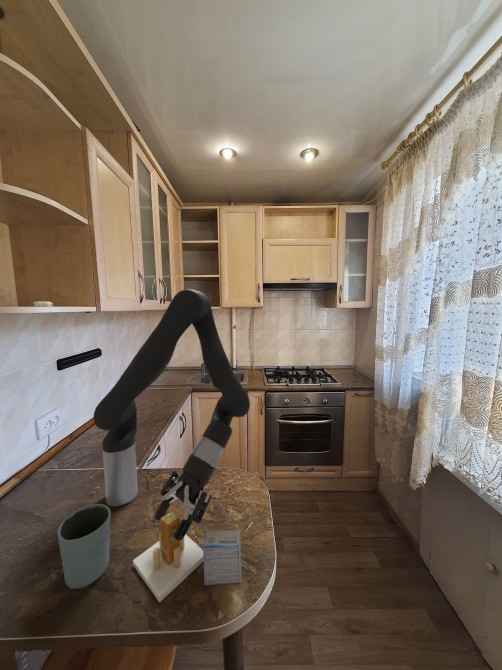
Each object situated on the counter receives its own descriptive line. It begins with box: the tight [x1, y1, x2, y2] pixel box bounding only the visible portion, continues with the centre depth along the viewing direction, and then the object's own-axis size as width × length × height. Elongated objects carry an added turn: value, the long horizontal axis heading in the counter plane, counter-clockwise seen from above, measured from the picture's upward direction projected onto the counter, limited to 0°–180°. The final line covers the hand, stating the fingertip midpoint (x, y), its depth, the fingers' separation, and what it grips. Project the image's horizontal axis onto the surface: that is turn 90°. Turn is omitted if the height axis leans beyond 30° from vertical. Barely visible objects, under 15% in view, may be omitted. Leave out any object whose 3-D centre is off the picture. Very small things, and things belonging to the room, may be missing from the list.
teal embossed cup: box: [57, 503, 112, 590], centre depth 57 cm, size 10×10×12 cm
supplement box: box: [159, 510, 181, 565], centre depth 58 cm, size 3×3×10 cm
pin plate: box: [132, 531, 204, 603], centre depth 58 cm, size 12×12×5 cm
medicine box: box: [202, 529, 242, 586], centre depth 55 cm, size 8×4×9 cm, turn 92°
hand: (166, 528), depth 58 cm, fingers open, 8 cm apart
